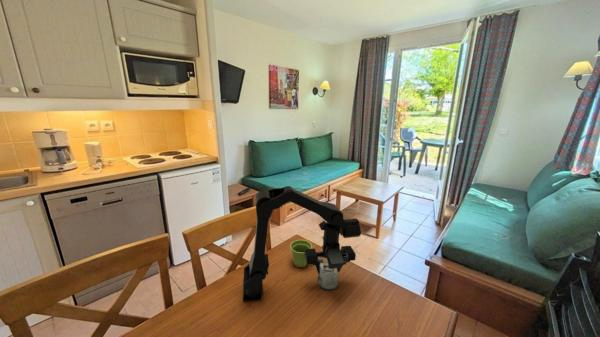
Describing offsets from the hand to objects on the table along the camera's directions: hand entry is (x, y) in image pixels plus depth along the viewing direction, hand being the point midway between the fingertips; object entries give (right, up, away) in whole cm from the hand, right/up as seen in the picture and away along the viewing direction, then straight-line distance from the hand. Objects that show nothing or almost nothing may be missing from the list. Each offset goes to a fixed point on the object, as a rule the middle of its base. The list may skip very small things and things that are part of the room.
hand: (328, 273), depth 92 cm
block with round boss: (0, -3, +1) cm, 3 cm away
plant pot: (-11, -1, +13) cm, 17 cm away
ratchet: (-1, -4, +5) cm, 7 cm away
